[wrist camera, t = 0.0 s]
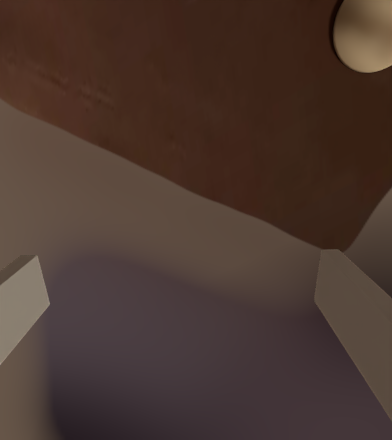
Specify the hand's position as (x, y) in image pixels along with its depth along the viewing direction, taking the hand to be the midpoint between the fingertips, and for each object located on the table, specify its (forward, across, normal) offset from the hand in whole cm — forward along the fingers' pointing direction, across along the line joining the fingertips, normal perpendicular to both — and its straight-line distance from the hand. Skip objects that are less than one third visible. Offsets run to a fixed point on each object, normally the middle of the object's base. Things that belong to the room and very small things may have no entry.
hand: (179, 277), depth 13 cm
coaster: (+28, +23, +17) cm, 40 cm away
